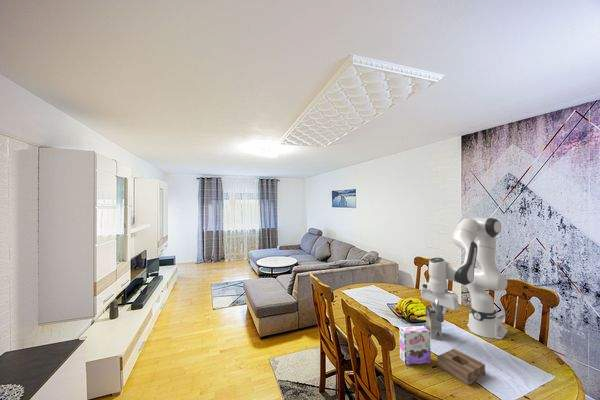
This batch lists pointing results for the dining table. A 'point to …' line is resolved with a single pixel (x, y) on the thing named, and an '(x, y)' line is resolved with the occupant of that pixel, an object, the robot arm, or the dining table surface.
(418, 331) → the candy box
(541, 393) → the dining table surface
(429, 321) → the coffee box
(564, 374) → the dining table surface
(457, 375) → the socket block
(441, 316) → the pin
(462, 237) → the robot arm
